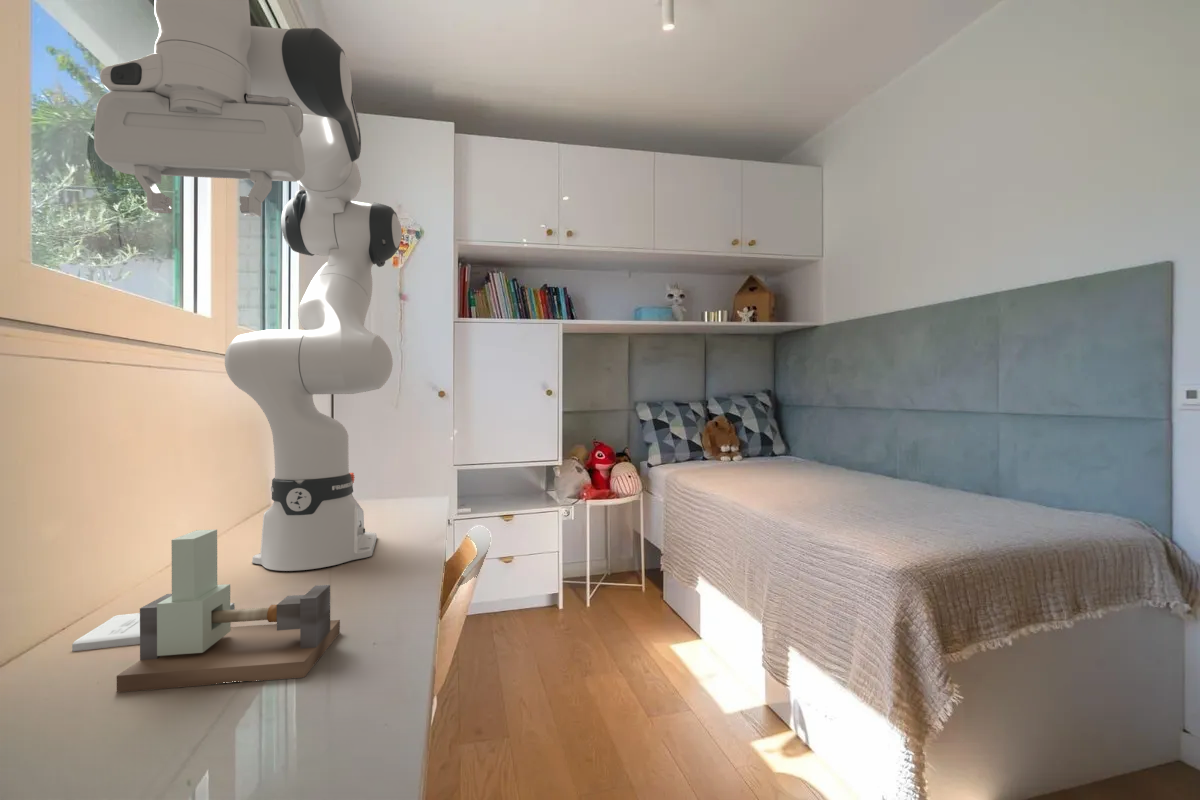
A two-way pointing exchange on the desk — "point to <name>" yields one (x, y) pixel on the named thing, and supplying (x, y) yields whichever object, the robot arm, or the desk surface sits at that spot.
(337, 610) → the desk surface
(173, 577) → the mint green stepped block
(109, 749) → the desk surface
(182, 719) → the desk surface
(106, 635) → the external hard drive
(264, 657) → the rod rail stand
